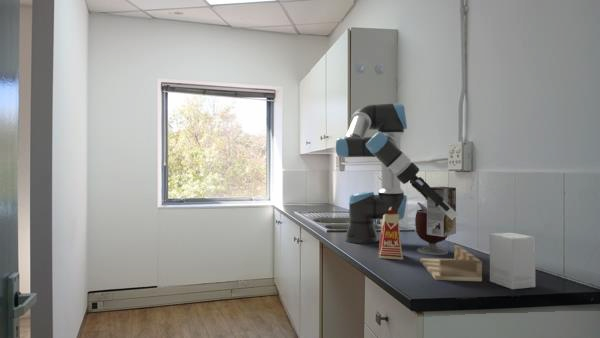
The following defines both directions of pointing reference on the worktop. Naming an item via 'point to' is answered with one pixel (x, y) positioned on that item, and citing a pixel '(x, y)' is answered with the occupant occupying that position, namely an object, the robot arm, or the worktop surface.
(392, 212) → the milk carton
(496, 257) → the supplement box
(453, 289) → the worktop surface
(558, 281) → the worktop surface
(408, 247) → the worktop surface
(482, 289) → the worktop surface
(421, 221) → the mate gourd
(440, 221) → the coffee box
